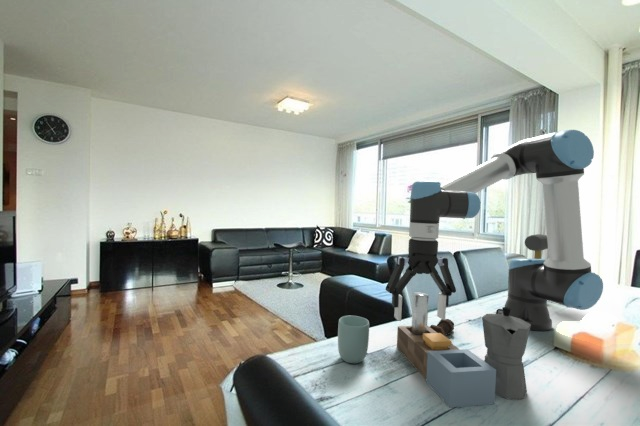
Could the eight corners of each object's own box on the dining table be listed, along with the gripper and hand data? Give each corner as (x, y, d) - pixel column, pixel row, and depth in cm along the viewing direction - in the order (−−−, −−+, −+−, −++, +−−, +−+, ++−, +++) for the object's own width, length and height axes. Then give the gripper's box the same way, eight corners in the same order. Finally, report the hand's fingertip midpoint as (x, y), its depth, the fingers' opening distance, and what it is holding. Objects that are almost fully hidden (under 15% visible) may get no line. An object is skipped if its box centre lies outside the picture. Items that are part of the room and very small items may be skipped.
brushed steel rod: (421, 349, 86) (423, 292, 86) (428, 356, 82) (431, 296, 82) (407, 349, 85) (410, 292, 85) (414, 356, 81) (417, 296, 81)
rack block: (466, 379, 72) (467, 349, 71) (494, 403, 63) (496, 369, 62) (426, 381, 70) (427, 351, 70) (449, 407, 61) (451, 372, 61)
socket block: (426, 346, 88) (427, 325, 88) (461, 376, 72) (462, 351, 72) (396, 347, 87) (397, 326, 86) (425, 379, 71) (427, 353, 71)
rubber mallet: (538, 303, 135) (542, 235, 134) (520, 299, 141) (523, 233, 140) (550, 299, 142) (553, 234, 141) (531, 295, 148) (535, 233, 147)
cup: (333, 363, 76) (334, 323, 76) (341, 350, 84) (343, 313, 83) (364, 370, 74) (365, 328, 73) (370, 356, 81) (372, 318, 81)
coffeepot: (535, 411, 61) (541, 320, 60) (482, 398, 64) (486, 313, 64) (517, 373, 75) (521, 299, 75) (474, 364, 79) (478, 294, 78)
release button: (439, 359, 78) (440, 332, 78) (450, 369, 73) (451, 341, 73) (421, 360, 77) (422, 333, 77) (431, 370, 72) (433, 341, 72)
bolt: (451, 335, 101) (436, 349, 89) (437, 324, 104) (422, 336, 92) (461, 322, 99) (448, 335, 88) (447, 311, 102) (432, 322, 90)
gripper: (386, 239, 77) (382, 324, 78) (473, 241, 82) (468, 322, 82) (375, 236, 85) (372, 314, 85) (455, 238, 89) (452, 312, 89)
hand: (419, 318), depth 84 cm, fingers open, 12 cm apart
